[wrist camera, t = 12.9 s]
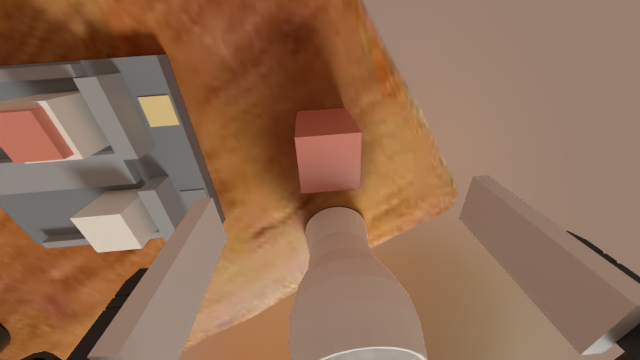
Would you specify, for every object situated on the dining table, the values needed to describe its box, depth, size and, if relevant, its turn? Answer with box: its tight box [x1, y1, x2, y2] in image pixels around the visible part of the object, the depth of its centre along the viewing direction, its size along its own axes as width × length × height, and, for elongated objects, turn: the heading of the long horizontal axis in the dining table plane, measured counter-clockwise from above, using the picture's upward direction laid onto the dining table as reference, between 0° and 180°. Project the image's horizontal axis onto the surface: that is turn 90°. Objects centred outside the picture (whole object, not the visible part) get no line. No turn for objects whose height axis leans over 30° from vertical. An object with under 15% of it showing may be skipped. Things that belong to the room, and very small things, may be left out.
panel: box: [0, 54, 225, 248], centre depth 20 cm, size 20×17×4 cm
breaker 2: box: [70, 188, 158, 252], centre depth 21 cm, size 4×4×4 cm
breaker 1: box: [0, 91, 110, 164], centre depth 16 cm, size 4×4×5 cm
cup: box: [289, 207, 428, 360], centre depth 23 cm, size 11×11×15 cm
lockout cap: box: [295, 108, 362, 194], centre depth 19 cm, size 4×4×7 cm
